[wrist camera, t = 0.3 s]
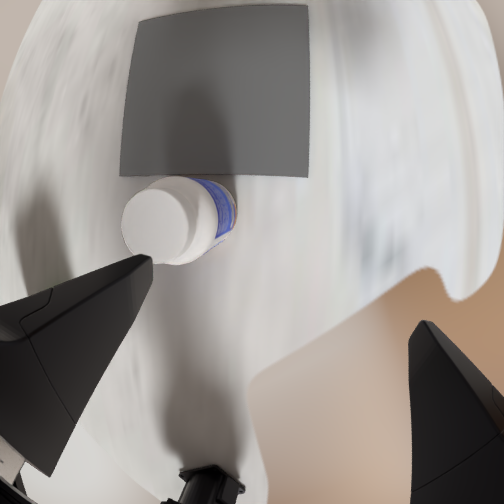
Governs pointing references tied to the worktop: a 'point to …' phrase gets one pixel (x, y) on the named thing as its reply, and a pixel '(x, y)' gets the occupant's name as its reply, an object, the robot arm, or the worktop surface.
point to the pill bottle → (178, 219)
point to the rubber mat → (219, 93)
